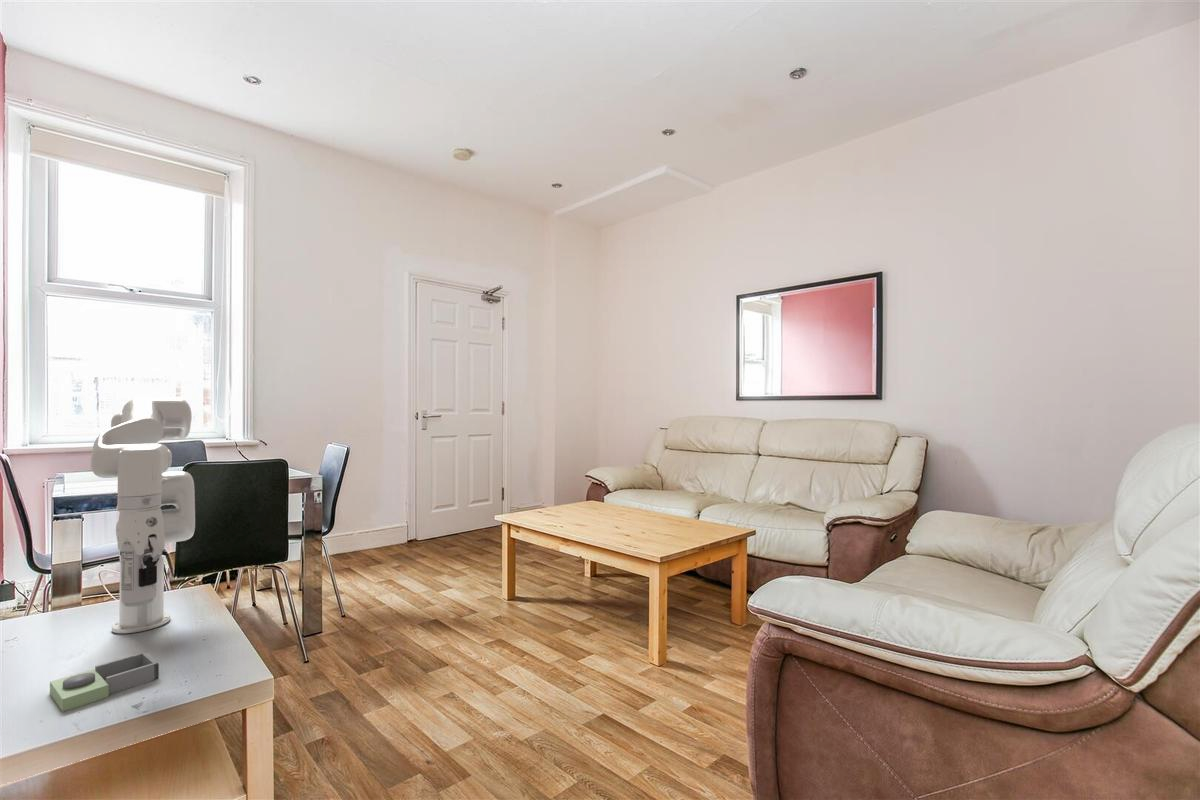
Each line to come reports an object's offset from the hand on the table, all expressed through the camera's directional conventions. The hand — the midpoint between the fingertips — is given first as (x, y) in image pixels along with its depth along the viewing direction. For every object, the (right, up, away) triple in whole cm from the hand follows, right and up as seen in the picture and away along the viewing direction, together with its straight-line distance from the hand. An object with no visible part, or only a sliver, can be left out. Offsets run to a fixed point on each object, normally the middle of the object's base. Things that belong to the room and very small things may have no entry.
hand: (139, 582), depth 122 cm
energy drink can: (0, -5, 0) cm, 5 cm away
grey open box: (-5, -22, -3) cm, 22 cm away
